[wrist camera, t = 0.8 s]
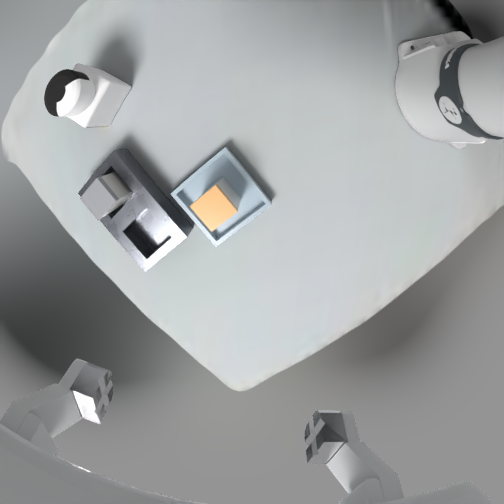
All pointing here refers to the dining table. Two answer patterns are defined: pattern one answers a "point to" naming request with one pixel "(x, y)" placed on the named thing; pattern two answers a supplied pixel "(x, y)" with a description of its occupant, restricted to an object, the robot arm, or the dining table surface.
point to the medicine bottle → (85, 95)
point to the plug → (217, 204)
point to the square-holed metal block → (141, 213)
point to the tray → (238, 179)
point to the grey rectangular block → (106, 195)
